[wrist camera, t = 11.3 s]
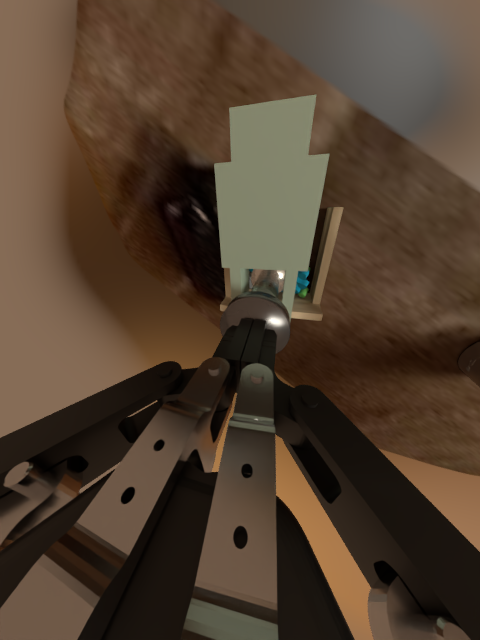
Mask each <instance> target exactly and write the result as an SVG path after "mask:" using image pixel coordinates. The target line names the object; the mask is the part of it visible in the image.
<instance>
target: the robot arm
mask: <svg viewBox="0 0 480 640" xmlns="http://www.w3.org/2000/svg"><path fill="white" fill-rule="evenodd" d="M276 342H277V334H276V333H275V331H274V330H270V329H266V321H264V320H255V319H254V320H253V319H245V318H241V320H240V323H239V325H238V326H235V325H232V326H231V327H229V328H228V329H227V330H226V332H225V334H224V336H223V338H222V340H221V341H220V343H219V345H218V347H217V349H216V351H215V353H214V355H213V357H212V358H209V359H207V360H205V361H204V362H203V363H202V364H201V365H200V366H199V367H198V368H192V369H181V366H180V365H179V364H178V363H177V362H173V361H168V362H163V363H161V364H159V365H156V366H154V367H152V368H150V369H148V370H146V371H144V372H141V373H139V374H137V375H135V376H133V377H131V378H128V379H126V380H124V381H122V382H120V383H118V384H115V385H113V386H111V387H109V388H107V389H105V390H103V391H100V392H98V393H96V394H94V395H92V396H90V397H87V398H85V399H83V400H81V401H79V402H77V403H75V404H73V405H70V406H68V407H66V408H64V409H62V410H59V411H57V412H55V413H53V414H51V415H49V416H47V417H44V418H43V419H40V420H38V421H36V422H34V423H31V424H30V425H27V426H25V427H23V428H21V429H19V430H16V431H14V432H12V433H10V434H8V435H6V436H3V437H1V438H0V640H354V637H353V635H352V633H351V631H350V629H349V627H348V625H347V622H346V620H345V618H344V616H343V614H342V612H341V610H340V607H339V606H338V603H337V601H336V599H335V597H334V595H333V593H332V591H331V588H330V586H329V584H328V582H327V580H326V578H325V576H324V573H323V571H322V569H321V567H320V565H319V563H318V560H317V558H316V556H315V554H314V552H313V550H312V548H311V545H310V544H309V541H308V539H307V537H306V535H305V533H304V531H303V530H302V527H301V526H300V524H299V522H298V521H297V519H296V518H295V516H294V515H293V513H292V512H291V511H290V509H289V508H288V507H287V506H286V505H285V503H284V502H283V501H282V500H281V499H279V497H277V496H276V458H275V457H276V456H275V455H276V454H275V434H276V435H277V436H279V437H281V438H282V439H283V441H284V443H285V445H286V447H287V449H288V450H289V452H290V454H291V455H292V457H293V459H294V460H295V462H296V464H297V465H298V467H299V468H300V470H301V472H302V474H303V475H304V477H305V478H306V480H307V482H308V484H309V485H310V487H311V488H312V490H313V492H314V493H315V495H316V496H317V498H318V500H319V502H320V503H321V505H322V507H323V508H324V510H325V512H326V513H327V515H328V517H329V518H330V520H331V522H332V523H333V525H334V527H335V528H336V530H337V532H338V533H339V535H340V537H341V538H342V540H343V542H344V543H345V545H346V547H347V548H348V550H349V552H350V553H351V555H352V556H353V558H354V560H355V562H356V563H357V565H358V567H359V568H360V570H361V571H362V573H363V575H364V576H365V578H366V580H367V582H368V583H369V585H370V587H371V590H370V593H369V597H368V616H369V622H370V627H371V631H372V634H373V638H374V640H480V552H479V551H478V550H477V549H476V548H475V547H474V546H473V545H472V544H471V543H470V542H469V541H468V540H467V539H466V538H465V537H464V536H463V535H462V534H461V533H460V532H459V530H457V528H455V526H454V525H453V524H451V522H449V521H448V519H447V518H446V517H445V516H444V515H443V514H442V513H441V512H440V511H439V510H438V509H437V508H436V507H435V506H434V505H433V504H432V503H431V502H430V501H429V500H428V499H427V498H426V497H425V496H424V495H423V494H422V493H421V492H420V491H419V490H418V489H417V488H416V487H415V486H414V485H413V484H412V483H411V482H410V481H409V480H408V479H407V478H406V477H405V476H404V475H403V474H402V473H401V472H400V471H399V470H398V469H397V468H396V467H395V466H394V465H393V464H392V463H391V462H390V461H389V460H388V459H387V458H386V457H385V455H383V453H382V452H381V451H380V450H379V449H378V448H377V447H376V446H375V445H374V444H373V443H372V442H371V441H370V440H369V439H368V438H367V437H366V436H365V435H364V434H363V433H362V432H361V431H360V430H359V429H358V428H357V427H356V426H355V425H354V424H353V423H352V422H351V421H350V420H349V419H348V418H347V417H346V416H345V415H344V414H343V413H342V412H341V411H340V410H339V409H338V408H337V407H336V406H335V405H334V404H333V403H332V402H331V401H330V400H329V399H328V398H327V397H326V396H325V395H324V394H323V393H322V392H321V391H320V390H318V389H317V388H315V387H312V386H309V385H299V386H297V387H295V388H293V387H290V386H288V385H287V384H285V383H283V382H282V381H280V380H279V379H278V378H277V376H276V374H275V372H274V364H275V353H276ZM458 366H459V368H460V369H461V370H462V371H463V372H464V373H465V374H466V375H467V376H468V377H469V378H470V379H471V380H472V381H473V382H475V383H476V384H477V385H478V386H479V387H480V341H479V342H477V343H475V344H473V345H472V346H470V347H469V348H467V349H466V350H465V351H464V352H463V353H462V354H461V356H460V357H459V360H458ZM235 393H237V397H236V403H235V407H234V413H233V416H232V417H231V418H230V420H229V424H228V428H227V433H226V438H225V442H224V447H223V452H222V457H221V462H220V466H219V471H218V472H211V471H212V468H213V464H214V461H215V456H216V450H217V446H218V443H219V440H220V437H221V435H222V432H223V429H224V427H225V424H226V421H227V419H228V416H229V413H230V411H231V408H232V401H233V397H234V394H235ZM156 400H157V401H158V402H156V403H154V404H152V405H151V406H149V407H147V408H145V409H144V410H142V411H140V412H139V413H137V414H135V415H133V416H131V417H128V416H130V415H131V414H133V413H135V412H136V411H138V410H140V409H142V408H144V407H145V406H147V405H149V404H151V403H152V402H154V401H156ZM119 462H120V464H119V465H118V466H117V468H116V469H114V470H113V471H111V472H110V473H109V474H107V475H106V476H104V477H103V478H102V479H101V480H99V481H97V482H96V483H95V484H93V485H92V486H91V487H89V488H88V489H86V490H85V491H84V492H82V493H81V494H80V492H79V490H80V489H81V488H82V487H83V486H85V485H86V484H88V483H89V482H91V481H92V480H94V479H95V478H97V477H98V476H100V475H101V474H103V473H104V472H106V471H107V470H109V469H110V468H112V467H113V466H115V465H116V464H118V463H119Z"/></svg>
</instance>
